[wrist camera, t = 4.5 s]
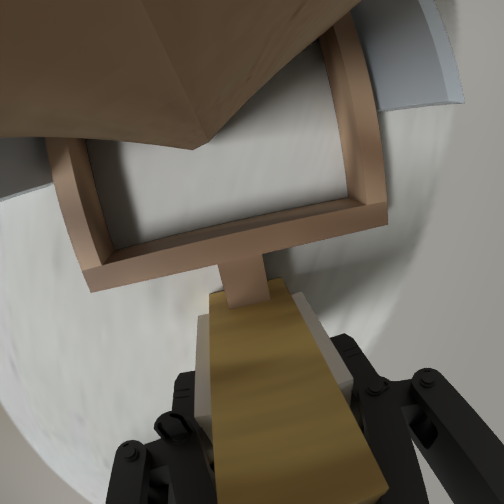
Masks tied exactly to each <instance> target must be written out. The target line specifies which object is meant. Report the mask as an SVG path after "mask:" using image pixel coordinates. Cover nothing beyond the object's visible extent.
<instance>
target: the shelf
mask: <svg viewBox="0 0 504 504" xmlns="http://www.w3.org/2000/svg"><path fill="white" fill-rule="evenodd" d="M350 13H351V15H352V18H353V21H354V24H355V28H356V31H357V34H358V37H359V40H360V44H361V47H362V51H363V55H364V58H365V62H366V66H367V70H368V74H369V79H370V83H371V87H372V92H373V97H374V102H375V107H376V112H382V111H393V110H400V109H407V108H415V107H424V106H434V105H446V104H462V103H465V101H464V95H463V90H462V86H461V81H460V77H459V73H458V69H457V65H456V61H455V57H454V54H453V51H452V47H451V44H450V41H449V38H448V35H447V32H446V29H445V26H444V24H443V21H442V18H441V16H440V13H439V11H438V8H437V6H436V4H435V1H434V0H362V1H361V2H359V3H358V4H357V5H356V6H354V7H353V8H352V9H351V10H350ZM51 184H54V181H53V177H52V173H51V168H50V163H49V158H48V153H47V148H46V142H45V137H6V138H0V202H2V201H4V200H7V199H10V198H13V197H16V196H19V195H22V194H25V193H28V192H31V191H35V190H38V189H41V188H45V187H47V186H49V185H51Z"/></svg>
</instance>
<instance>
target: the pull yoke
mask: <svg viewBox="0 0 504 504" xmlns="http://www.w3.org/2000/svg"><path fill="white" fill-rule="evenodd" d="M318 39H319V42H320V46H321V50H322V54H323V57H324V61H325V65H326V69H327V74H328V78H329V82H330V87H331V91H332V96H333V101H334V106H335V111H336V116H337V122H338V127H339V133H340V139H341V145H342V152H343V159H344V166H345V173H346V181H347V190H348V198H344V199H339V200H333V201H328V202H323V203H318V204H313V205H308V206H303V207H298V208H293V209H288V210H284V211H279V212H274V213H269V214H265V215H260V216H256V217H251V218H247V219H242V220H238V221H233V222H229V223H224V224H220V225H216V226H211V227H207V228H203V229H199V230H195V231H190V232H186V233H182V234H178V235H174V236H170V237H166V238H162V239H158V240H154V241H150V242H146V243H142V244H139V245H135V246H131V247H127V248H123V249H120V250H116V251H115V250H114V247H113V244H112V241H111V238H110V235H109V232H108V229H107V226H106V223H105V219H104V216H103V213H102V209H101V206H100V202H99V198H98V195H97V191H96V187H95V183H94V179H93V175H92V171H91V166H90V162H89V157H88V153H87V148H86V143H85V138H66V137H45V142H46V148H47V153H48V158H49V163H50V168H51V173H52V177H53V181H54V186H55V190H56V194H57V197H58V201H59V205H60V208H61V212H62V215H63V218H64V222H65V225H66V228H67V231H68V234H69V237H70V240H71V243H72V246H73V249H74V252H75V254H76V257H77V260H78V262H79V265H80V268H81V270H82V273H83V275H84V278H85V280H86V282H87V285H88V287H89V289H90V292H91V293H92V292H97V291H101V290H106V289H110V288H115V287H119V286H124V285H128V284H132V283H137V282H141V281H146V280H150V279H155V278H159V277H163V276H168V275H172V274H177V273H181V272H185V271H190V270H194V269H199V268H203V267H207V266H212V265H216V264H217V265H218V268H219V272H220V276H221V280H222V284H223V287H224V291H221V292H217V293H212V294H209V345H210V389H211V414H212V434H213V451H214V466H215V479H216V491H217V502H218V504H375V503H376V502H377V501H378V500H379V498H380V497H381V496H382V495H384V494H385V493H386V492H387V490H388V489H389V486H388V484H387V482H386V480H385V478H384V476H383V474H382V472H381V470H380V468H379V466H378V464H377V462H376V460H375V458H374V456H373V454H372V452H371V450H370V448H369V446H368V444H367V442H366V440H365V438H364V436H363V434H362V432H361V430H360V428H359V426H358V424H357V422H356V420H355V418H354V416H353V414H352V412H351V410H350V408H349V406H348V404H347V402H346V400H345V398H344V396H343V394H342V392H341V390H340V388H339V386H338V384H337V382H336V380H335V378H334V376H333V374H332V373H331V371H330V369H329V367H328V365H327V363H326V361H325V359H324V357H323V355H322V353H321V351H320V349H319V347H318V345H317V344H316V342H315V340H314V338H313V336H312V334H311V332H310V330H309V328H308V326H307V324H306V323H305V321H304V319H303V317H302V315H301V313H300V311H299V309H298V307H297V305H296V304H295V302H294V300H293V298H292V296H291V294H290V292H289V290H288V288H287V287H286V285H285V283H284V281H283V279H282V277H281V278H277V279H273V280H269V281H267V278H266V273H265V267H264V262H263V257H262V254H264V253H268V252H272V251H277V250H281V249H285V248H290V247H294V246H298V245H303V244H307V243H311V242H316V241H320V240H324V239H328V238H333V237H337V236H341V235H345V234H350V233H354V232H358V231H362V230H367V229H371V228H375V227H379V226H384V225H388V210H387V194H386V181H385V170H384V161H383V152H382V145H381V137H380V131H379V124H378V118H377V113H376V107H375V102H374V97H373V92H372V87H371V83H370V79H369V74H368V70H367V66H366V62H365V58H364V55H363V51H362V47H361V44H360V40H359V37H358V34H357V31H356V28H355V24H354V21H353V18H352V15H351V13H350V11H349V12H347V13H346V14H345V15H344V16H343V17H342V18H341V19H339V20H338V21H337V22H336V23H335V24H334V25H333V26H332V27H330V28H329V29H328V30H327V31H326V32H325V33H324V34H322V35H321V36H320V37H319V38H318Z"/></svg>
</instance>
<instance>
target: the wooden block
mask: <svg viewBox="0 0 504 504" xmlns="http://www.w3.org/2000/svg"><path fill="white" fill-rule="evenodd" d="M361 1H362V0H0V138H6V137H66V138H87V139H102V140H114V141H125V142H135V143H144V144H152V145H160V146H168V147H175V148H182V149H188V150H194V149H196V148H198V147H200V146H202V145H204V144H206V143H208V142H209V141H210V140H211V139H212V138H213V137H214V136H215V134H216V133H217V132H218V131H219V130H220V129H221V128H222V127H223V126H224V125H225V124H226V123H227V122H228V121H229V119H230V118H231V117H232V116H233V115H234V114H235V113H236V112H237V111H238V110H239V109H240V108H241V107H242V106H243V105H244V104H245V103H246V102H247V101H248V100H249V99H250V98H251V97H252V96H253V95H254V94H255V93H256V92H257V91H258V90H259V89H260V88H261V87H262V86H264V85H265V84H266V83H267V82H268V81H269V80H270V79H271V78H272V77H273V76H274V75H275V74H276V73H278V72H279V71H280V70H281V69H282V68H283V67H284V66H285V65H286V64H288V63H289V62H290V61H291V60H292V59H293V58H294V57H296V56H297V55H298V54H299V53H300V52H302V51H303V50H304V49H305V48H306V47H308V46H309V45H310V44H311V43H312V42H314V41H315V40H316V39H317V38H319V37H320V36H321V35H322V34H324V33H325V32H326V31H327V30H328V29H329V28H330V27H332V26H333V25H334V24H335V23H336V22H337V21H338V20H339V19H341V18H342V17H343V16H344V15H345V14H346V13H347V12H349V11H350V10H351V9H352V8H353V7H354V6H356V5H357V4H358V3H359V2H361Z"/></svg>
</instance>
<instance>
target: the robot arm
mask: <svg viewBox="0 0 504 504" xmlns="http://www.w3.org/2000/svg"><path fill="white" fill-rule="evenodd" d="M291 296H292V298H293V300H294V302H295V304H296V305H297V307H298V309H299V311H300V313H301V315H302V317H303V319H304V321H305V323H306V324H307V326H308V328H309V330H310V332H311V334H312V336H313V338H314V340H315V342H316V344H317V345H318V347H319V349H320V351H321V353H322V355H323V357H324V359H325V361H326V363H327V365H328V367H329V369H330V371H331V373H332V374H333V376H334V378H335V380H336V382H337V384H338V386H339V388H340V390H341V392H342V394H343V396H344V398H345V400H346V402H347V404H348V406H349V408H350V410H351V412H352V414H353V416H354V418H355V420H356V422H357V424H358V426H359V428H360V430H361V432H362V434H363V436H364V438H365V440H366V442H367V444H368V446H369V448H370V450H371V452H372V454H373V456H374V458H375V460H376V462H377V464H378V466H379V468H380V470H381V472H382V474H383V476H384V478H385V480H386V482H387V484H388V486H389V489H388V490H387V492H386V493H385V494H384V495H382V496H381V497H380V498H379V500H378V501H377V502H376V503H375V504H429V501H428V497H427V492H426V488H425V485H424V481H423V477H422V473H421V470H420V466H419V463H418V459H417V456H416V453H415V449H414V446H413V443H412V440H413V441H414V443H415V445H416V446H417V448H418V449H419V451H420V452H421V454H422V455H423V457H424V458H425V459H426V461H427V463H428V464H429V466H430V467H431V469H432V470H433V472H434V473H435V475H436V476H437V478H438V479H439V481H440V482H441V484H442V486H443V487H444V489H445V490H446V492H447V493H448V495H449V497H450V498H451V500H452V501H453V503H454V504H504V445H503V444H502V442H501V441H500V440H499V439H498V437H497V436H496V435H495V434H494V433H493V431H492V430H491V429H490V428H489V427H488V426H487V425H486V423H485V422H484V421H483V420H482V419H481V417H480V416H479V415H478V414H477V413H476V412H475V411H474V409H473V408H472V407H471V406H470V405H469V404H468V403H467V402H466V400H465V399H464V398H463V397H462V396H461V395H460V394H459V393H458V392H457V390H456V389H455V388H454V387H453V386H452V385H451V384H450V383H449V382H448V381H447V380H446V379H445V378H444V376H443V375H442V374H441V373H440V372H438V371H437V370H435V369H432V368H423V369H420V370H418V371H417V372H416V373H414V375H413V377H412V379H408V380H402V381H389V380H388V379H386V378H385V377H381V376H379V375H378V374H377V372H376V371H375V369H374V368H373V366H372V365H371V363H370V362H369V360H368V359H367V358H366V356H365V355H364V353H363V352H362V350H361V349H360V347H358V345H357V343H356V342H355V340H354V339H353V338H352V337H350V336H348V335H347V334H345V333H344V334H341V335H338V336H335V337H331V338H329V336H328V335H327V333H326V331H325V330H324V328H323V326H322V325H321V323H320V321H319V320H318V318H317V316H316V315H315V313H314V311H313V310H312V308H311V306H310V305H309V303H308V301H307V300H306V298H305V297H304V295H303V293H302V292H299V293H295V294H291ZM154 430H155V431H156V432H157V433H158V434H159V436H160V437H161V439H158V440H156V441H153V442H150V443H147V444H144V445H143V444H142V443H141V442H139V441H136V440H129V441H126V442H124V443H122V444H121V445H120V446H119V447H118V449H117V451H116V454H115V459H114V463H113V468H112V472H111V477H110V482H109V487H108V492H107V498H106V504H218V502H217V491H216V479H215V466H214V451H213V434H212V414H211V389H210V345H209V314H205V315H200V316H198V325H197V344H196V367H195V371H190V372H184V373H180V374H179V375H178V377H177V379H176V380H175V384H174V393H173V404H172V411H168V412H166V413H164V414H162V415H161V416H160V417H158V418H157V420H156V422H155V424H154ZM411 439H412V440H411Z"/></svg>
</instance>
